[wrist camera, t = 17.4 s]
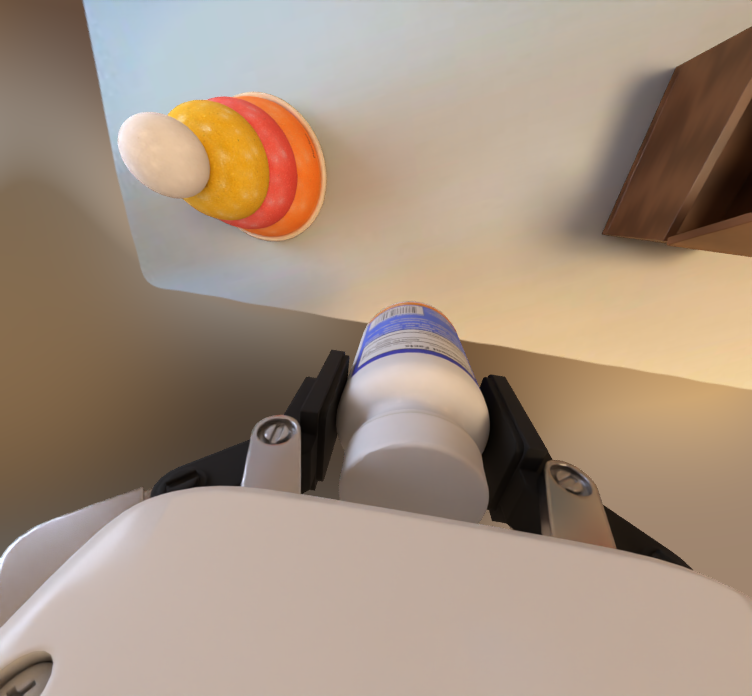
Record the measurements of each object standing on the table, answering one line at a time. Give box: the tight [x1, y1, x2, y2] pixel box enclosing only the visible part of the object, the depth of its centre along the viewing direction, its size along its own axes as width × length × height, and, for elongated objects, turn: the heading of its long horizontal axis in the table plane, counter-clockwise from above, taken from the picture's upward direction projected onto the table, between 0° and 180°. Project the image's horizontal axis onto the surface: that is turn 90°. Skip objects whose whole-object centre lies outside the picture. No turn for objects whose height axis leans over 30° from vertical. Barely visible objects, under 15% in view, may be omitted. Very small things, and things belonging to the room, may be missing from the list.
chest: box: [602, 27, 752, 243], centre depth 25 cm, size 15×12×9 cm
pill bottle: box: [336, 301, 490, 524], centre depth 12 cm, size 5×5×10 cm
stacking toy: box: [118, 92, 327, 241], centre depth 25 cm, size 14×14×20 cm
